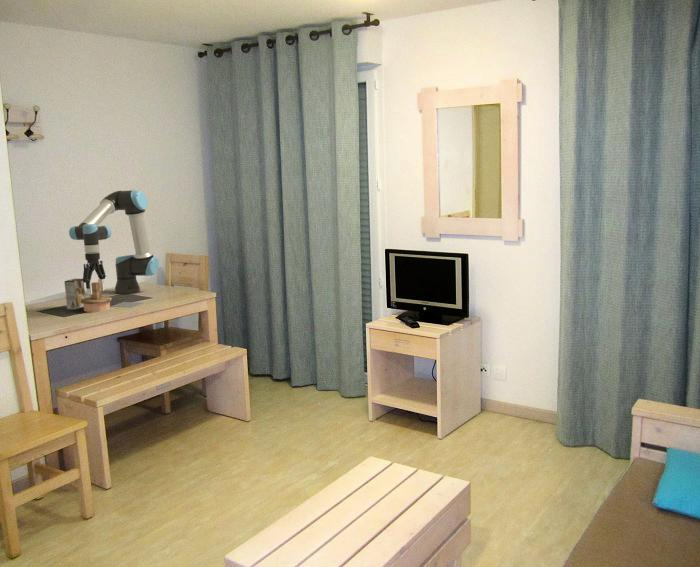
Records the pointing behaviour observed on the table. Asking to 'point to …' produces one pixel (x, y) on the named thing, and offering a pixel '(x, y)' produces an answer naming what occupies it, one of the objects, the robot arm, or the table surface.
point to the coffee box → (74, 293)
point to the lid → (96, 295)
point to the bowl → (97, 307)
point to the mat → (127, 304)
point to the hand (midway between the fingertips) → (95, 292)
